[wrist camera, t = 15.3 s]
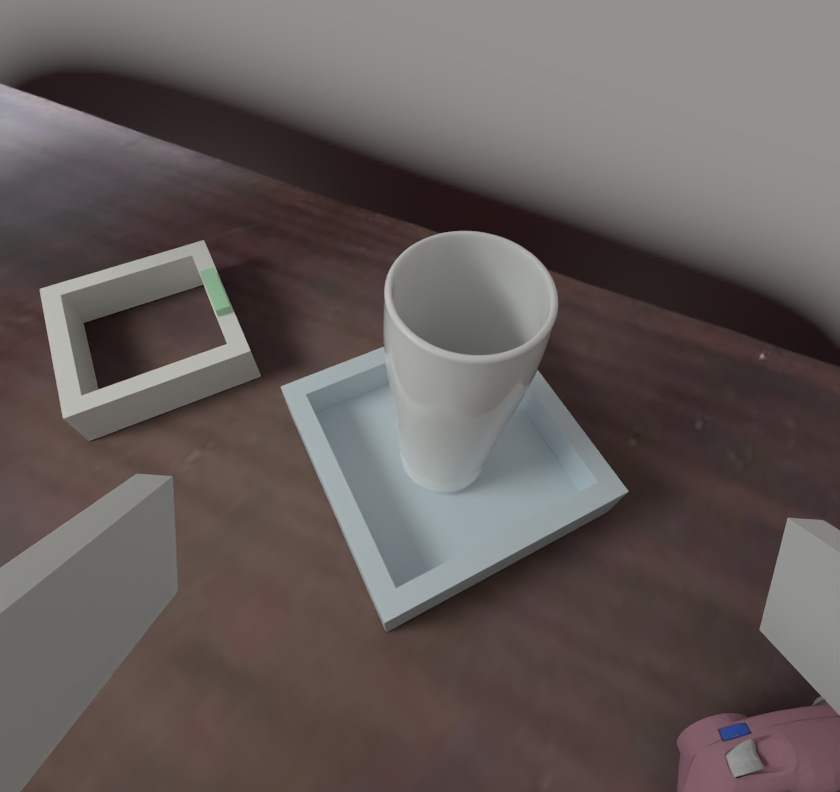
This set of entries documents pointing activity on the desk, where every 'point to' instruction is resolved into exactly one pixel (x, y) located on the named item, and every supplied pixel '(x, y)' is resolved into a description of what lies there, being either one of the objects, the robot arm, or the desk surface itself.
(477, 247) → the drinking glass
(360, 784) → the desk surface
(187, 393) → the frame
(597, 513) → the tray
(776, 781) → the pink toy figurine
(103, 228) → the desk surface
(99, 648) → the robot arm
